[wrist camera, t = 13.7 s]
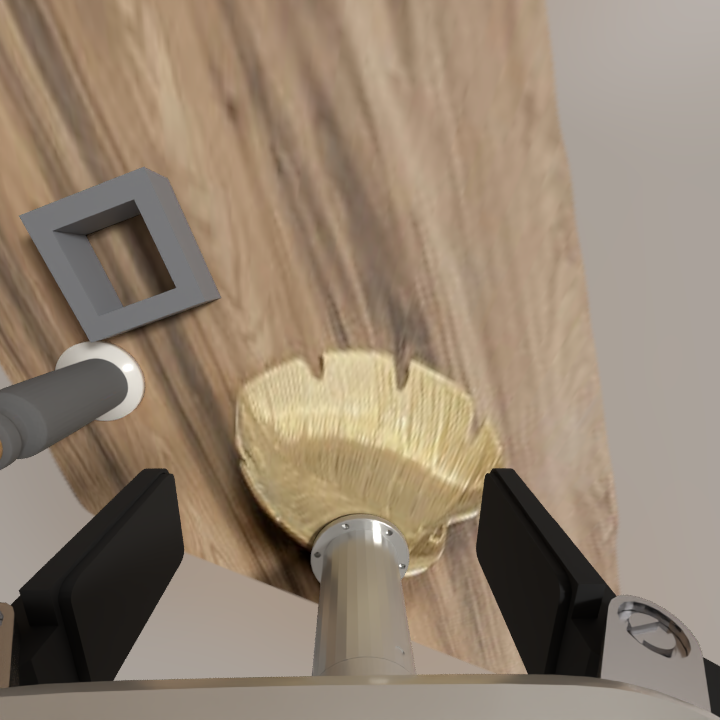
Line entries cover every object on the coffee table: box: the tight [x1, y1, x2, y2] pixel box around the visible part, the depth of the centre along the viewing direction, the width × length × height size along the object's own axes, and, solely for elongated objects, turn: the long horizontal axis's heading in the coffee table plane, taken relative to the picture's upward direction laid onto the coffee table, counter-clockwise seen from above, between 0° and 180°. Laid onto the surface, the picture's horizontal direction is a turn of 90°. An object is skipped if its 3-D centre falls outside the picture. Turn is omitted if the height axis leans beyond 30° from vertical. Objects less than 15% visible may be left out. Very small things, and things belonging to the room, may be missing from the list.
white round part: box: [55, 341, 145, 421], centre depth 38 cm, size 9×9×1 cm
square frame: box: [19, 167, 221, 343], centre depth 33 cm, size 12×12×4 cm
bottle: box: [0, 358, 128, 470], centre depth 30 cm, size 6×6×15 cm
